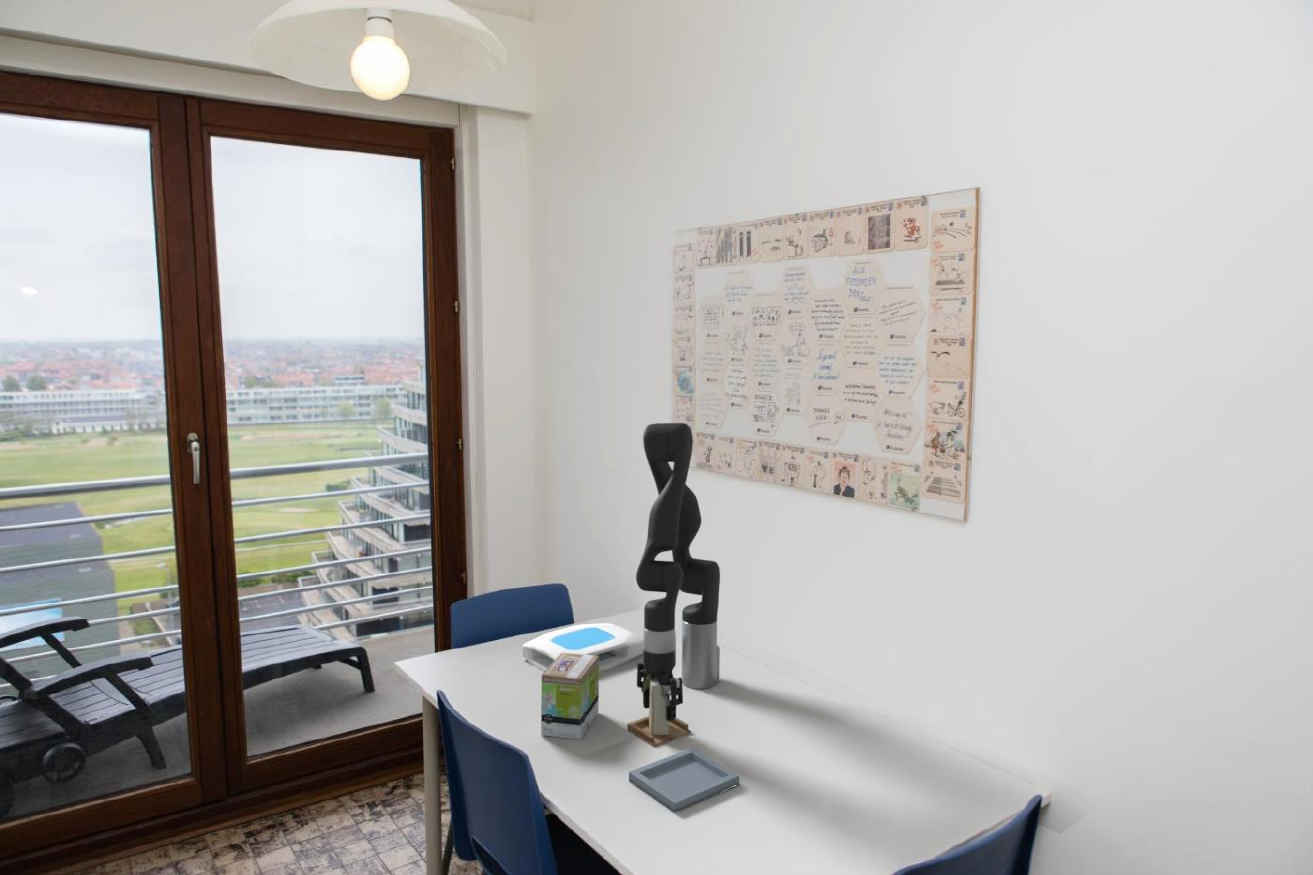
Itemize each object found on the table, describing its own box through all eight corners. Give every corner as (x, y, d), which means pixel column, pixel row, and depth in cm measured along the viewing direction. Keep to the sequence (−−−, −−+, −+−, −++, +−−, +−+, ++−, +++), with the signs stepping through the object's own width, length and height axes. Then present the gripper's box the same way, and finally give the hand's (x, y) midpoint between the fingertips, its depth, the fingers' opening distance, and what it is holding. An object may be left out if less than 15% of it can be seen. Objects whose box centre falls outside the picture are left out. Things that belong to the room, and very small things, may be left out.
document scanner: (521, 660, 240) (521, 639, 240) (600, 638, 259) (600, 618, 258) (564, 683, 225) (563, 660, 224) (644, 657, 243) (644, 636, 242)
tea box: (582, 740, 192) (581, 678, 190) (540, 736, 194) (539, 674, 192) (599, 712, 207) (599, 653, 205) (560, 708, 209) (559, 650, 207)
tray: (691, 756, 185) (691, 747, 185) (739, 784, 173) (739, 775, 173) (628, 781, 175) (628, 771, 174) (674, 813, 163) (674, 803, 163)
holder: (664, 717, 204) (664, 711, 204) (691, 733, 196) (691, 726, 196) (627, 730, 197) (627, 723, 197) (653, 746, 189) (653, 739, 189)
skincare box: (648, 724, 199) (648, 674, 198) (667, 723, 200) (667, 673, 198) (650, 736, 193) (650, 685, 192) (670, 735, 194) (670, 684, 192)
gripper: (692, 651, 191) (691, 720, 193) (653, 634, 202) (653, 699, 204) (665, 659, 186) (665, 729, 188) (627, 640, 197) (627, 707, 199)
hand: (659, 713), depth 196 cm, fingers open, 8 cm apart
